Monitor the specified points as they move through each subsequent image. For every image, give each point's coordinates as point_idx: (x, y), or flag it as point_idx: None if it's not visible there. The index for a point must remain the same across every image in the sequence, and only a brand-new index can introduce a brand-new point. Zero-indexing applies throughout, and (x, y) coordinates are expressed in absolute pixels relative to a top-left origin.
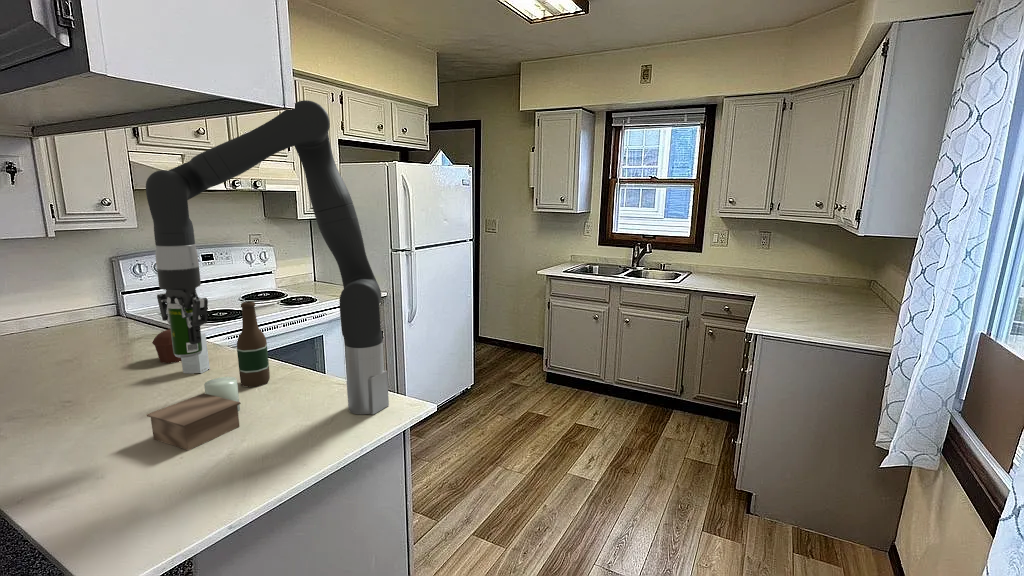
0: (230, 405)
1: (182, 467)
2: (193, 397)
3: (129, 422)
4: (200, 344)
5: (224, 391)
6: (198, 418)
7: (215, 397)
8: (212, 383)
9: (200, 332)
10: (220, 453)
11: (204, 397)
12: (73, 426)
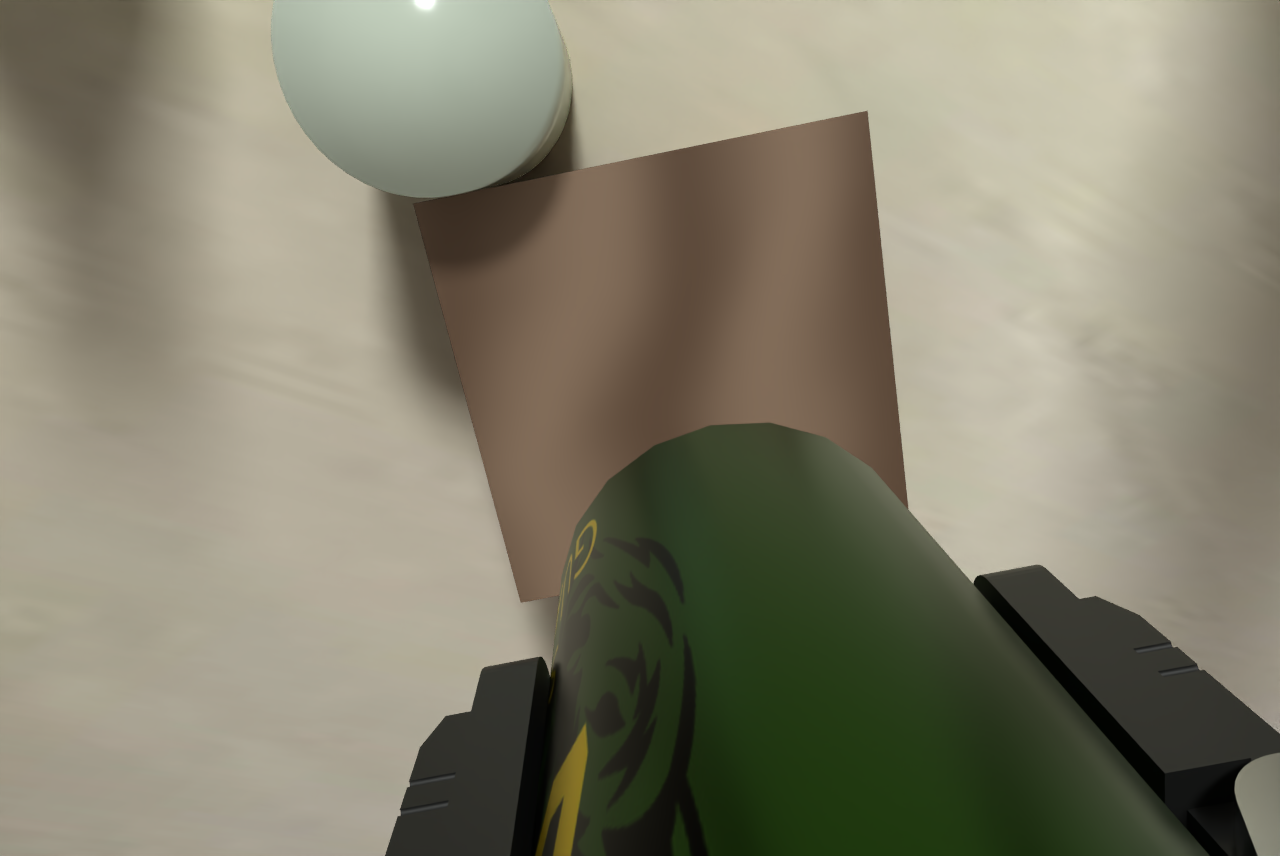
0: (859, 193)
1: (992, 536)
2: (445, 295)
3: (179, 518)
4: (910, 512)
5: (556, 91)
6: (882, 434)
7: (590, 187)
8: (400, 124)
9: (1228, 694)
10: (1027, 369)
11: (516, 242)
12: (14, 703)
